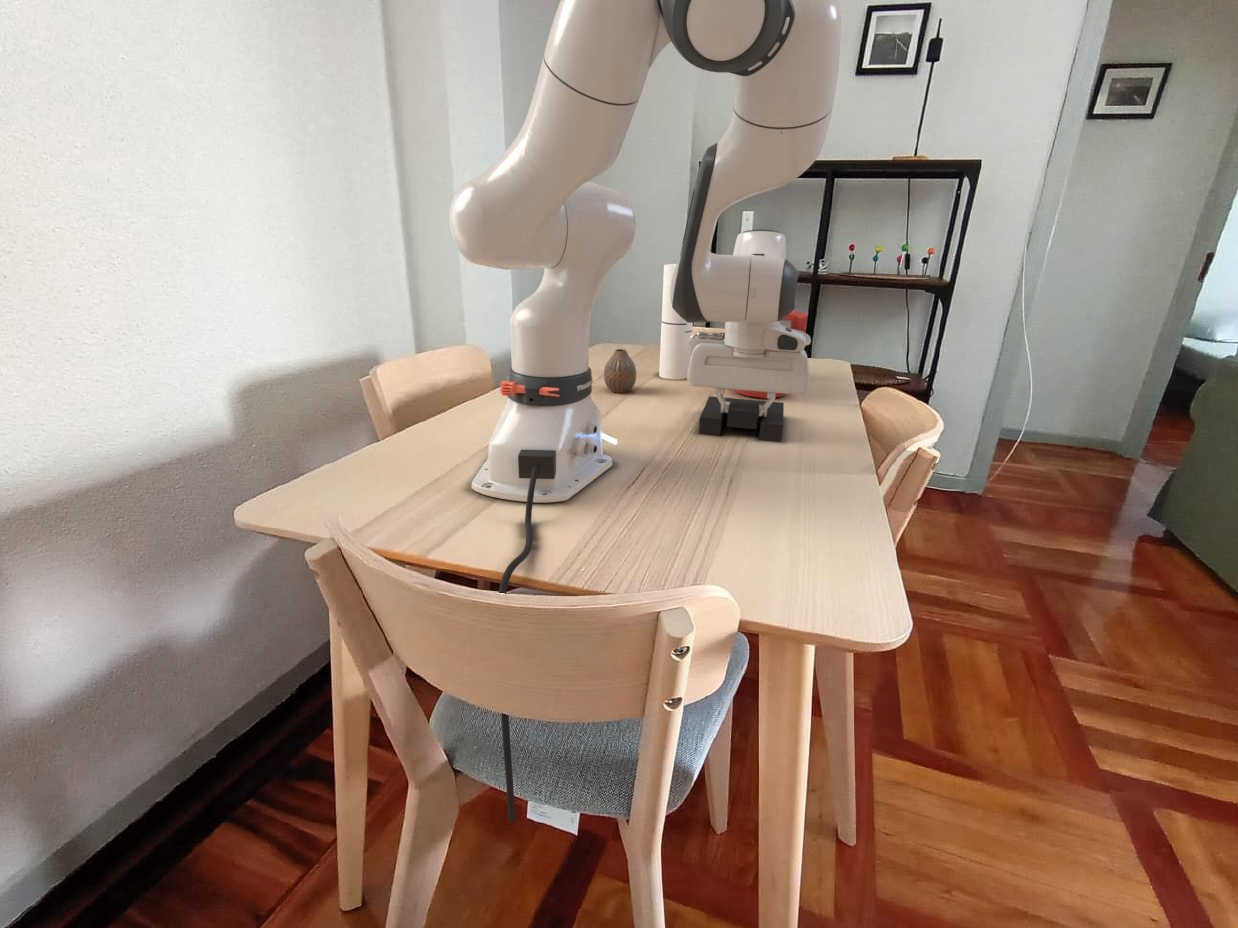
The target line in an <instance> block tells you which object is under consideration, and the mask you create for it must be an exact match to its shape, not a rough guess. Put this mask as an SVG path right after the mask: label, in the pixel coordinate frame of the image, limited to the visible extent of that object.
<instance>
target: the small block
mask: <svg viewBox="0 0 1238 928" xmlns="http://www.w3.org/2000/svg"><path fill="white" fill-rule="evenodd" d="M759 405H760V403H754V402H742V401H731V403H730V406H729V409H728V418H727V424H726V427H727V428H739V429H750V430H757V428H758V427H757V422H758V412H759Z"/></svg>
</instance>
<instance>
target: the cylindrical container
mask: <svg viewBox="0 0 1238 928" xmlns="http://www.w3.org/2000/svg"><path fill="white" fill-rule="evenodd" d="M676 265H677V263H666V264H663V281H662V303H661V323H660V324H661V325H660V326H661V328H660V347H659V348H660V349H659V370H658V376H659V377H660V378H663V379H666V380H676V381H677V380H687V375H688V368H689V363H690V359H691V356H690V355H689V353H688V342H689V339H690V337H691V336H692V335H693V325H694V323H688V322H686V321H685V320H684V319H683V318H682V317H680V316H679V315H678V314H677V313H676V311H675V310H674V309H673V308H672V303H671V298H670V287H671V280H672V276H673V273H674V270H675V268H676Z"/></svg>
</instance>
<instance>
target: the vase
mask: <svg viewBox="0 0 1238 928" xmlns="http://www.w3.org/2000/svg"><path fill="white" fill-rule="evenodd" d="M603 378H604V379H603V380H604V383H605V385H606V387H607V389H608V391H610V392H612V393H615V394H616V393H617V394H624V393H629V392H630V391H631V390H632V389H633V388H634V386H635V384H636V382H637V368H636V364H635V362H634V360H632V358H631V356H630V355H629V354H628V351H627V350H626V349H625V348H617V349H614V351H613V354H612V355H611V357H610V358H609V359H608V360H607V362H606V363H605V367H604V370H603Z"/></svg>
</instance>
